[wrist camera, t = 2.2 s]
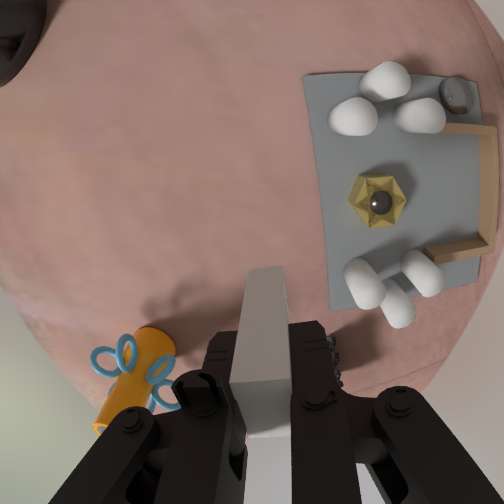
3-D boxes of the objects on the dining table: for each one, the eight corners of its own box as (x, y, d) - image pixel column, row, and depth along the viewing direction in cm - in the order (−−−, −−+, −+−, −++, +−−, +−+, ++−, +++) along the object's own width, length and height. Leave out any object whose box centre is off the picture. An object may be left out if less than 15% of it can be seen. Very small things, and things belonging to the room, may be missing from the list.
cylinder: (201, 379, 37) (176, 472, 23) (133, 373, 38) (95, 452, 24) (184, 305, 33) (138, 406, 19) (108, 303, 33) (44, 384, 19)
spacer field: (301, 77, 23) (309, 62, 18) (472, 82, 21) (503, 78, 15) (329, 307, 32) (339, 340, 26) (473, 278, 29) (497, 301, 24)
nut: (344, 176, 25) (351, 180, 23) (394, 171, 25) (405, 175, 22) (348, 222, 27) (355, 230, 25) (397, 216, 26) (407, 223, 24)
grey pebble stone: (435, 76, 21) (441, 74, 19) (463, 80, 20) (469, 79, 19) (441, 113, 22) (447, 113, 21) (469, 115, 22) (475, 115, 20)
